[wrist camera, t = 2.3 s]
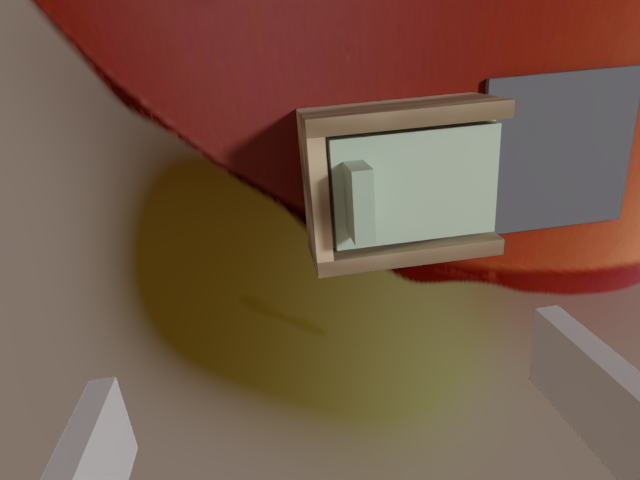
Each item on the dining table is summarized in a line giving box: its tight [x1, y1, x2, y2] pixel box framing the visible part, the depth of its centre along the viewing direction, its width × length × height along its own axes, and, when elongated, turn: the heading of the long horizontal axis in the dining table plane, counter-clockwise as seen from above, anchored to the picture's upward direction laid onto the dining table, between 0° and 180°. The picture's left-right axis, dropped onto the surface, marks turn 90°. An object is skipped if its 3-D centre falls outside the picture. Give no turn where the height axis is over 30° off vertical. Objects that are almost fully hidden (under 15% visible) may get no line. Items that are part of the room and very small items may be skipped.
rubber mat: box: [485, 65, 640, 234], centre depth 40 cm, size 13×13×1 cm
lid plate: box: [326, 120, 502, 251], centre depth 33 cm, size 8×12×5 cm, turn 94°
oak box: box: [296, 92, 515, 278], centre depth 36 cm, size 11×14×6 cm
